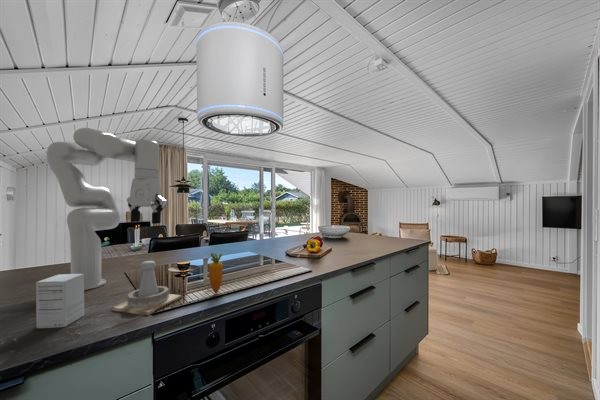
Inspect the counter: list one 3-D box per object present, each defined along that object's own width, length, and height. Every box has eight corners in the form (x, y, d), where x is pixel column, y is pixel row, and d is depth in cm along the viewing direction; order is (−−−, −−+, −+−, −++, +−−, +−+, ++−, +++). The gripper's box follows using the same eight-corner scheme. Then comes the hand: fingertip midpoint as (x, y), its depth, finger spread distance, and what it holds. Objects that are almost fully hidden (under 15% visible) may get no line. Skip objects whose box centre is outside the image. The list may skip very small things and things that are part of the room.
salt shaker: (149, 304, 81) (148, 263, 81) (133, 303, 82) (133, 263, 82) (162, 298, 87) (162, 259, 87) (147, 297, 88) (147, 259, 88)
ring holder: (112, 310, 79) (112, 297, 79) (149, 294, 93) (149, 283, 93) (147, 315, 76) (147, 301, 76) (181, 298, 89) (181, 286, 89)
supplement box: (58, 316, 75) (58, 273, 76) (85, 315, 76) (85, 273, 76) (34, 329, 68) (34, 281, 68) (64, 327, 69) (64, 280, 69)
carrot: (225, 291, 95) (225, 251, 95) (217, 296, 90) (217, 254, 90) (214, 290, 96) (214, 250, 97) (205, 295, 92) (205, 253, 92)
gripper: (118, 174, 91) (117, 222, 91) (157, 174, 86) (155, 225, 86) (137, 176, 98) (136, 220, 98) (174, 176, 93) (173, 223, 93)
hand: (145, 222), depth 92 cm, fingers open, 9 cm apart
